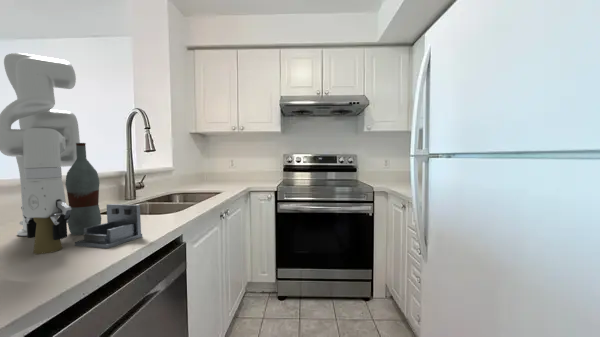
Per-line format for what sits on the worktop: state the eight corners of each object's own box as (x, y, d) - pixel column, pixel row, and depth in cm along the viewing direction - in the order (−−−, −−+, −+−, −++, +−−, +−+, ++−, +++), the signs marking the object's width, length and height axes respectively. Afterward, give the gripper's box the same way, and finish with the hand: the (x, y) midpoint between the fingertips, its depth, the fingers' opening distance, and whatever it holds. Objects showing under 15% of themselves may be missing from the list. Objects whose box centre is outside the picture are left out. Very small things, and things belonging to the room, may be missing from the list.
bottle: (60, 235, 97) (55, 142, 96) (81, 228, 106) (77, 143, 105) (89, 235, 97) (84, 142, 95) (108, 228, 106) (103, 143, 105)
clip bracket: (74, 245, 85) (73, 210, 85) (112, 234, 97) (111, 203, 96) (107, 248, 82) (105, 211, 81) (142, 236, 93) (140, 204, 93)
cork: (45, 254, 78) (43, 212, 77) (27, 253, 79) (24, 211, 78) (68, 247, 84) (65, 208, 83) (50, 246, 85) (48, 207, 84)
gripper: (4, 175, 79) (9, 239, 80) (51, 175, 74) (55, 243, 75) (37, 174, 86) (40, 232, 87) (81, 173, 81) (84, 235, 82)
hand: (47, 237), depth 81 cm, fingers open, 9 cm apart
